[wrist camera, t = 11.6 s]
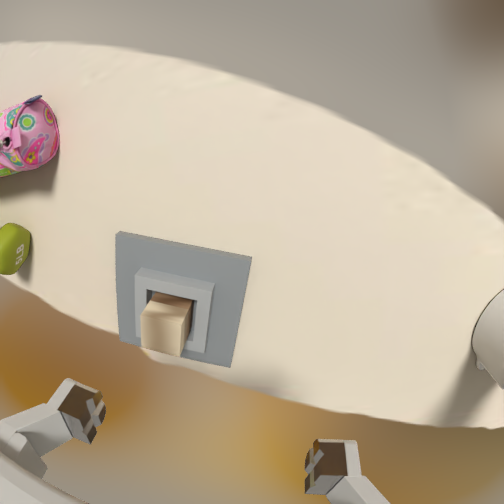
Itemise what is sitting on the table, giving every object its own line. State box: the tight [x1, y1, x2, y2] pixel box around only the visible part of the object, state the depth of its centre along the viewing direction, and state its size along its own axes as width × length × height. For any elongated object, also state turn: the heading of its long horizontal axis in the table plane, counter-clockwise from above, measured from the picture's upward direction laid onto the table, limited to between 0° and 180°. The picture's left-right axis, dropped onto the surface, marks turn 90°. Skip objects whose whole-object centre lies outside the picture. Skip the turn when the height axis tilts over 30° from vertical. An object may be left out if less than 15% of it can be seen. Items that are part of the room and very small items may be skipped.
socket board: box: [116, 231, 252, 368], centre depth 36 cm, size 16×16×3 cm
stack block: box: [140, 291, 194, 357], centre depth 34 cm, size 4×4×6 cm
